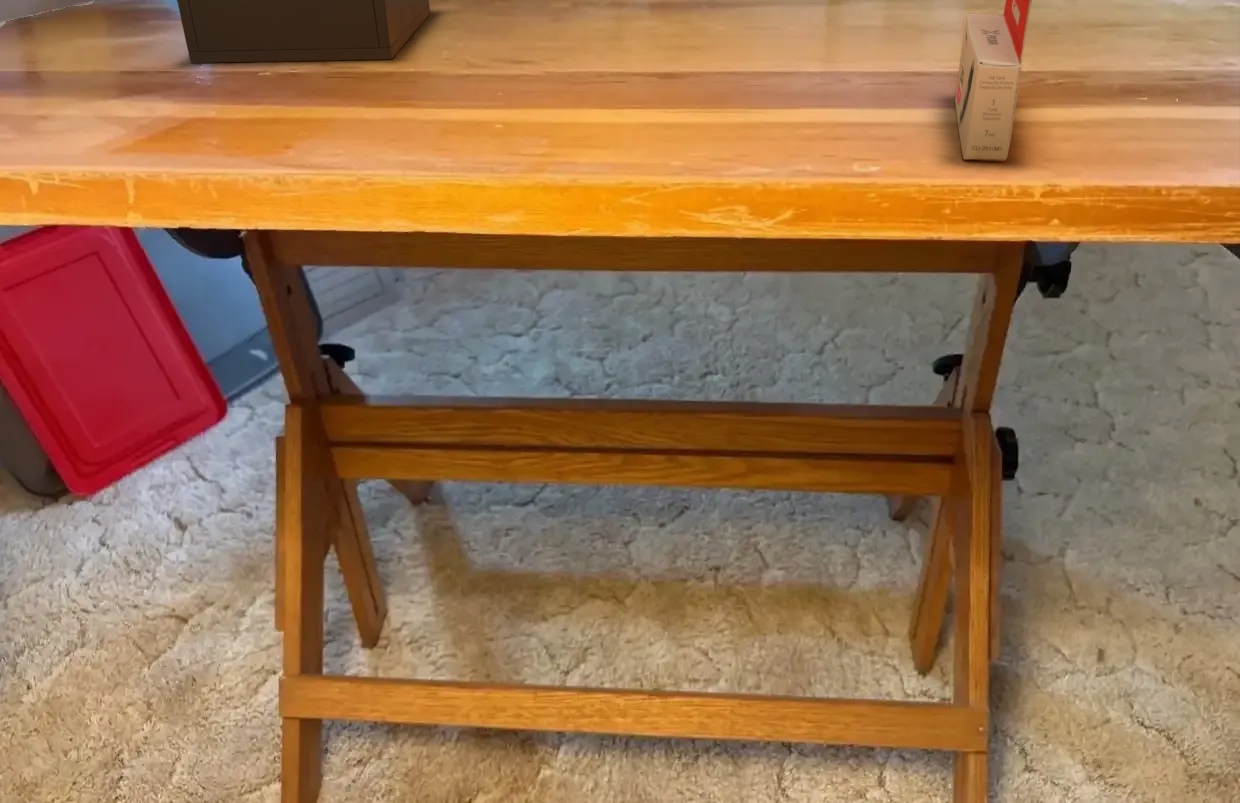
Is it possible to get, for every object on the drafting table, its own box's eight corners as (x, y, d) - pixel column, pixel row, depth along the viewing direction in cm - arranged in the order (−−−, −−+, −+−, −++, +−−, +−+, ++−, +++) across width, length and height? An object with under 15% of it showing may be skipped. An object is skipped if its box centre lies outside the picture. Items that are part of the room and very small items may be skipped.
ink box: (962, 162, 59) (987, -36, 55) (953, 100, 69) (974, -73, 64) (1011, 164, 59) (1040, -35, 54) (996, 101, 68) (1020, -73, 63)
